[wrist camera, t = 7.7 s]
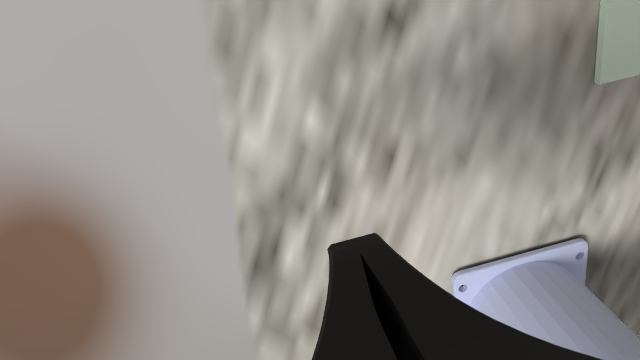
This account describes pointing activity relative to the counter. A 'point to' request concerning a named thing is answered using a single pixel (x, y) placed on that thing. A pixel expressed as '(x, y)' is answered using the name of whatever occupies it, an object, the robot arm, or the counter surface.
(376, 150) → the counter surface
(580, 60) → the counter surface
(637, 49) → the sage mat
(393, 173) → the counter surface
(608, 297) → the counter surface
